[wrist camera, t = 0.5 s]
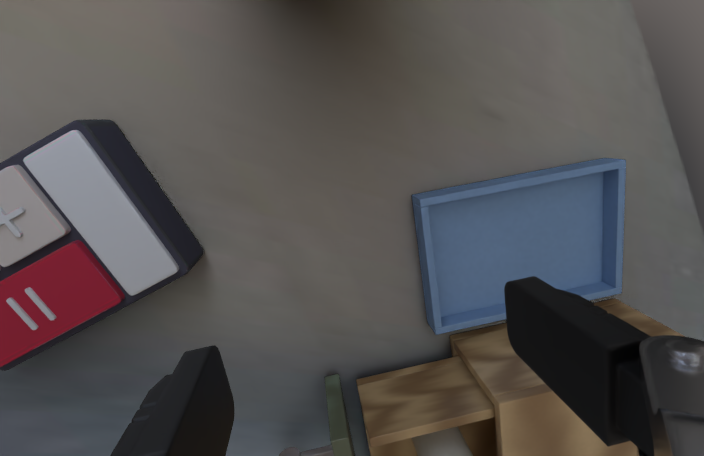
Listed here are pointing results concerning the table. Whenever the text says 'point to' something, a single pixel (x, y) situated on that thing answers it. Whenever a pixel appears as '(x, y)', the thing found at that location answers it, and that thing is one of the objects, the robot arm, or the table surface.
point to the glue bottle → (442, 443)
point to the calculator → (81, 236)
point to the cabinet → (537, 393)
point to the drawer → (411, 410)
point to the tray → (520, 239)
